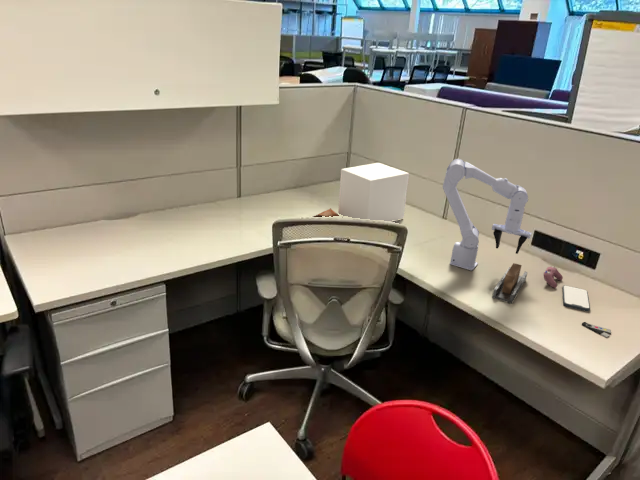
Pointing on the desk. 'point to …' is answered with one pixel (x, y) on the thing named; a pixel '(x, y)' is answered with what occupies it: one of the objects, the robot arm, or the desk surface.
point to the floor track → (510, 297)
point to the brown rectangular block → (511, 278)
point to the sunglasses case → (327, 213)
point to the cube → (373, 192)
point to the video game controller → (552, 276)
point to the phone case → (575, 298)
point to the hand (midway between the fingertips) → (507, 250)
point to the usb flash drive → (597, 329)
